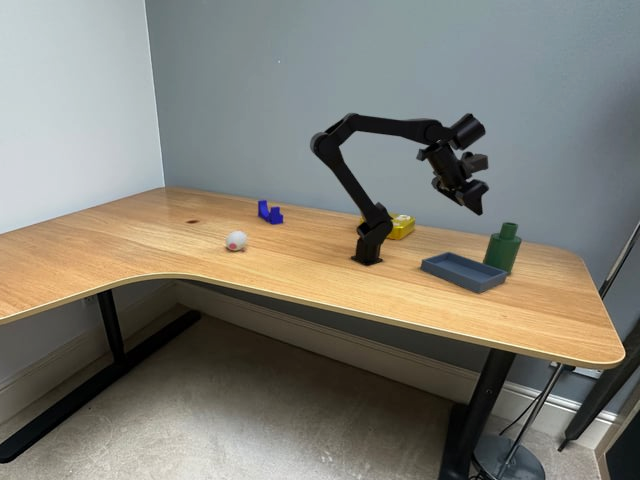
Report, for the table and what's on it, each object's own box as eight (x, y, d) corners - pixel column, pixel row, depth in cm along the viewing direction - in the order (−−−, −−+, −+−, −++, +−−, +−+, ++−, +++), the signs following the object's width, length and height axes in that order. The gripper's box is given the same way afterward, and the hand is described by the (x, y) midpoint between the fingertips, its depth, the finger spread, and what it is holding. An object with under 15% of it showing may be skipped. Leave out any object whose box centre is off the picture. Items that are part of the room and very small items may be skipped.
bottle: (501, 278, 95) (517, 230, 89) (475, 269, 100) (489, 222, 94) (515, 272, 98) (532, 225, 92) (489, 264, 103) (504, 218, 97)
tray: (478, 293, 88) (481, 283, 87) (419, 269, 100) (422, 259, 99) (504, 282, 93) (508, 272, 92) (446, 260, 105) (448, 251, 104)
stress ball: (238, 254, 118) (228, 235, 118) (256, 245, 113) (246, 225, 113) (224, 261, 113) (213, 242, 112) (242, 251, 107) (231, 231, 107)
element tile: (374, 221, 138) (376, 208, 136) (415, 229, 130) (417, 216, 128) (356, 231, 128) (357, 218, 126) (399, 241, 119) (401, 226, 117)
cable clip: (283, 223, 137) (283, 206, 134) (272, 224, 135) (272, 208, 132) (268, 214, 146) (268, 199, 144) (258, 216, 145) (258, 200, 142)
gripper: (496, 146, 83) (523, 199, 89) (456, 137, 100) (481, 182, 105) (450, 178, 86) (479, 227, 92) (419, 165, 103) (445, 207, 109)
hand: (471, 209), depth 99 cm, fingers open, 9 cm apart
